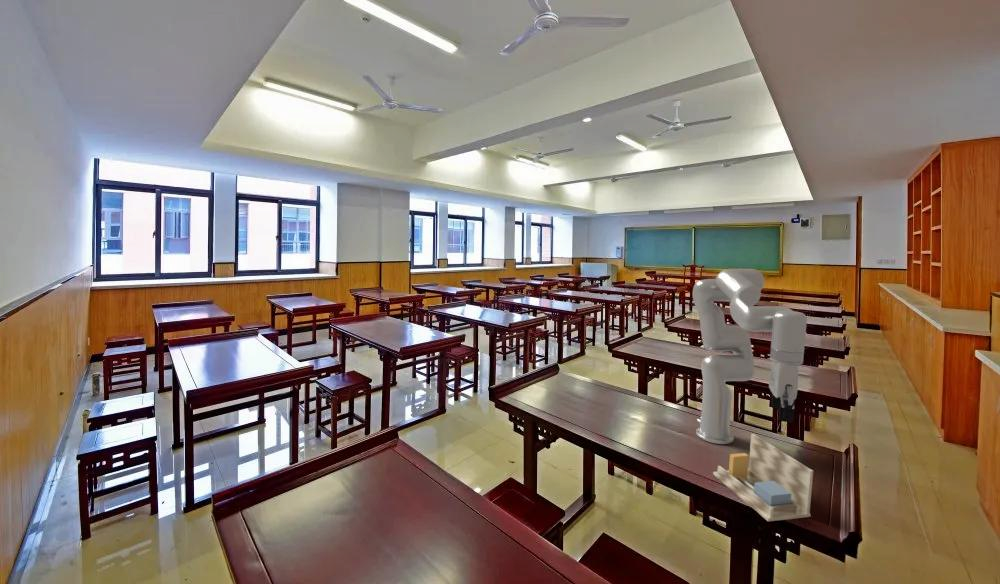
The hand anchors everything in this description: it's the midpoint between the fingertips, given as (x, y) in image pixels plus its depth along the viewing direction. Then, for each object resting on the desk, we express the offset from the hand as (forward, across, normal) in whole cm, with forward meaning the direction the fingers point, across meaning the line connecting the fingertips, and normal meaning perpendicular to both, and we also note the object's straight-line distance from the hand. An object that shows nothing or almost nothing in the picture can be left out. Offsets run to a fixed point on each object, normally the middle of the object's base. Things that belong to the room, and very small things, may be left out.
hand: (781, 414), depth 115 cm
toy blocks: (+24, +3, -5) cm, 24 cm away
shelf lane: (+25, +1, -4) cm, 25 cm away
